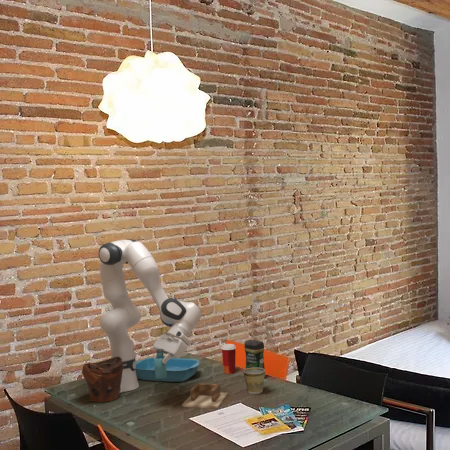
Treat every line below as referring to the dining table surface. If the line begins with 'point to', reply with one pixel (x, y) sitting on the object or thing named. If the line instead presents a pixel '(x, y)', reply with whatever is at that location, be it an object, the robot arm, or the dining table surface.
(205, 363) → the dining table surface
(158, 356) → the teal bottle
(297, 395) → the dining table surface
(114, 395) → the case
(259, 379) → the ceramic cup
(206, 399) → the bottle stand
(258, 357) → the coffee jar
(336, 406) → the dining table surface
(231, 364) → the paper cup
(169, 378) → the casserole dish
